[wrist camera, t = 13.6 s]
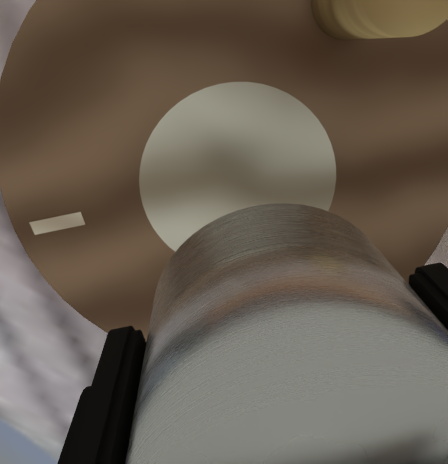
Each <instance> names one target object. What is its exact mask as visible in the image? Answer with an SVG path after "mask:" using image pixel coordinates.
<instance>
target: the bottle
mask: <svg viewBox="0 0 448 464" xmlns="http://www.w3.org/2000/svg"><path fill="white" fill-rule="evenodd" d="M125 464H448V330H447V329H446V328H445V326H444V325H443V324H442V323H441V322H440V321H439V319H438V318H437V317H436V316H435V315H434V314H433V312H432V311H431V310H430V309H429V308H428V307H427V306H426V304H425V303H424V302H423V301H422V300H421V299H420V297H419V296H418V295H417V294H416V293H415V292H414V290H413V289H412V288H411V287H410V286H409V285H408V283H407V282H406V281H405V280H404V279H403V278H402V277H401V275H400V274H399V273H398V272H397V271H396V270H395V268H394V267H393V266H392V265H391V264H390V263H389V261H388V260H387V259H386V258H385V257H384V256H383V255H382V253H381V252H380V251H379V250H378V249H377V248H376V246H375V245H374V244H373V243H372V242H371V241H370V240H369V239H368V238H367V236H366V235H365V234H364V233H363V232H362V231H361V230H359V229H358V228H357V227H355V226H354V225H353V224H352V223H350V222H349V221H347V220H345V219H343V218H341V217H340V216H338V215H336V214H333V213H331V212H328V211H326V210H323V209H320V208H316V207H312V206H307V205H301V204H291V203H271V204H264V205H257V206H251V207H248V208H244V209H240V210H236V211H234V212H231V213H229V214H226V215H224V216H221V217H219V218H217V219H216V220H214V221H212V222H210V223H208V224H207V225H205V226H204V227H202V228H201V229H199V230H198V231H197V232H195V233H194V234H193V235H191V236H190V237H189V238H188V239H187V240H186V241H185V242H184V243H183V244H182V245H181V246H180V247H179V248H178V249H177V251H176V252H175V253H174V254H173V256H172V257H171V258H170V260H169V262H168V263H167V265H166V267H165V268H164V270H163V272H162V274H161V277H160V279H159V282H158V285H157V289H156V293H155V297H154V303H153V308H152V314H151V320H150V325H149V331H148V337H147V342H146V348H145V354H144V359H143V365H142V370H141V376H140V382H139V387H138V393H137V399H136V404H135V410H134V416H133V421H132V427H131V432H130V438H129V444H128V449H127V455H126V461H125Z"/></svg>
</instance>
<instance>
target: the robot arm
mask: <svg viewBox="0 0 448 464" xmlns="http://www.w3.org/2000/svg"><path fill="white" fill-rule="evenodd" d="M409 286H410V287H411V288H412V289H413V290H414V292H415V293H416V294H417V295H418V296H419V297H420V299H421V300H422V301H423V302H424V303H425V304H426V306H427V307H428V308H429V309H430V310H431V311H432V312H433V314H434V315H435V316H436V317H437V318H438V319H439V321H440V322H441V323H442V324H443V325H444V326H445V328H446V329H447V330H448V268H447V267H446V266H445V265H443V264H442V263H435V264H430V265H425V266H421V267H417V268H416V269H415V273H414V274H411V275H410V276H409ZM145 348H146V341H145V338H144V335H143V333H142V331H141V330H135V329H134V327H133V326H126V327H121V328H116V329H111V330H110V331H109V332H108V335H107V338H106V341H105V345H104V348H103V351H102V354H101V357H100V360H99V363H98V367H97V370H96V373H95V376H94V379H93V382H92V386H89V387H86V388H85V389H84V390H83V392H82V394H81V396H80V399H79V402H78V405H77V408H76V411H75V414H74V417H73V420H72V423H71V425H70V428H69V431H68V434H67V437H66V440H65V443H64V446H63V449H62V452H61V455H60V458H59V461H58V464H125V461H126V455H127V449H128V444H129V438H130V432H131V427H132V421H133V416H134V410H135V404H136V399H137V393H138V387H139V382H140V376H141V370H142V365H143V359H144V354H145Z"/></svg>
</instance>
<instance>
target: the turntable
mask: <svg viewBox="0 0 448 464" xmlns="http://www.w3.org/2000/svg"><path fill="white" fill-rule="evenodd" d="M447 19H448V0H36V2H35V3H34V4H33V6H32V7H31V9H30V10H29V12H28V14H27V16H26V18H25V20H24V21H23V23H22V25H21V27H20V29H19V31H18V33H17V35H16V37H15V39H14V41H13V43H12V46H11V49H10V52H9V55H8V58H7V61H6V64H5V67H4V70H3V73H2V76H1V80H0V188H1V192H2V196H3V200H4V204H5V207H6V209H7V212H8V214H9V217H10V220H11V222H12V225H13V227H14V230H15V232H16V234H17V236H18V238H19V240H20V241H21V243H22V245H23V247H24V249H25V251H26V252H27V254H28V256H29V258H30V259H31V261H32V262H33V263H34V265H35V266H36V267H37V269H38V270H39V272H40V273H41V274H42V276H43V277H44V279H45V280H46V281H47V282H48V283H49V284H50V285H51V286H52V288H53V289H54V290H55V291H56V292H57V293H58V294H59V295H60V296H61V297H62V298H63V299H64V300H65V301H66V302H67V303H68V304H69V305H71V306H72V307H73V308H74V309H75V310H76V311H77V312H79V313H80V314H81V315H82V316H83V317H85V318H86V319H88V320H89V321H91V322H92V323H94V324H95V325H96V326H98V327H99V328H101V329H102V330H104V331H105V332H107V333H108V332H109V331H110V330H111V329H116V328H121V327H126V326H133V327H134V329H135V330H141V331H142V333H143V335H144V338H145V341H146V342H147V337H148V331H149V325H150V320H151V314H152V308H153V303H154V297H155V293H156V289H157V285H158V282H159V279H160V277H161V274H162V272H163V270H164V268H165V267H166V265H167V263H168V262H169V260H170V258H171V257H172V256H173V254H174V253H175V252H176V251H177V249H178V248H179V247H180V246H181V245H182V244H183V243H184V242H185V241H186V240H187V239H188V238H189V237H190V236H191V235H193V234H194V233H195V232H197V231H198V230H199V229H201V228H202V227H204V226H205V225H207V224H208V223H210V222H212V221H214V220H216V219H217V218H219V217H221V216H224V215H226V214H229V213H231V212H234V211H236V210H240V209H244V208H248V207H251V206H257V205H264V204H271V203H291V204H301V205H307V206H312V207H316V208H320V209H323V210H326V211H328V212H331V213H333V214H336V215H338V216H340V217H341V218H343V219H345V220H347V221H349V222H350V223H352V224H353V225H354V226H355V227H357V228H358V229H359V230H361V231H362V232H363V233H364V234H365V235H366V236H367V238H368V239H369V240H370V241H371V242H372V243H373V244H374V245H375V246H376V248H377V249H378V250H379V251H380V252H381V253H382V255H383V256H384V257H385V258H386V259H387V260H388V261H389V263H390V264H391V265H392V266H393V267H394V268H395V270H396V271H397V272H398V273H399V274H400V275H401V277H402V278H403V279H404V280H405V281H406V282H407V283H408V284H409V276H410V275H411V274H414V273H415V269H416V268H417V267H421V266H424V264H425V263H426V262H427V260H428V259H429V257H430V256H431V254H432V253H433V252H434V250H435V249H436V247H437V245H438V243H439V242H440V240H441V238H442V236H443V234H444V232H445V231H446V229H447V227H448V20H447Z"/></svg>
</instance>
